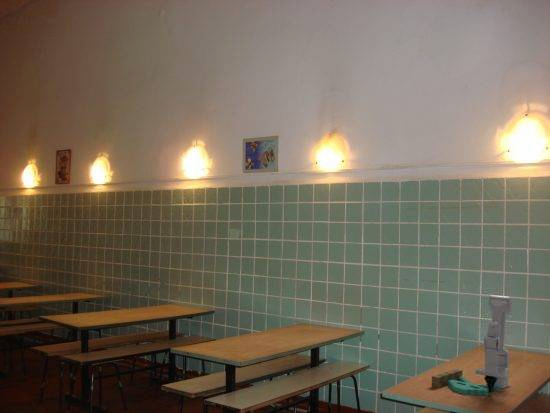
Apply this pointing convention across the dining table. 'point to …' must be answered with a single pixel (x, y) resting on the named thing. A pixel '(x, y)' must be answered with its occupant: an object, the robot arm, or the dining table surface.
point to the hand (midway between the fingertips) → (490, 392)
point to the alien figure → (469, 387)
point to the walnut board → (445, 378)
